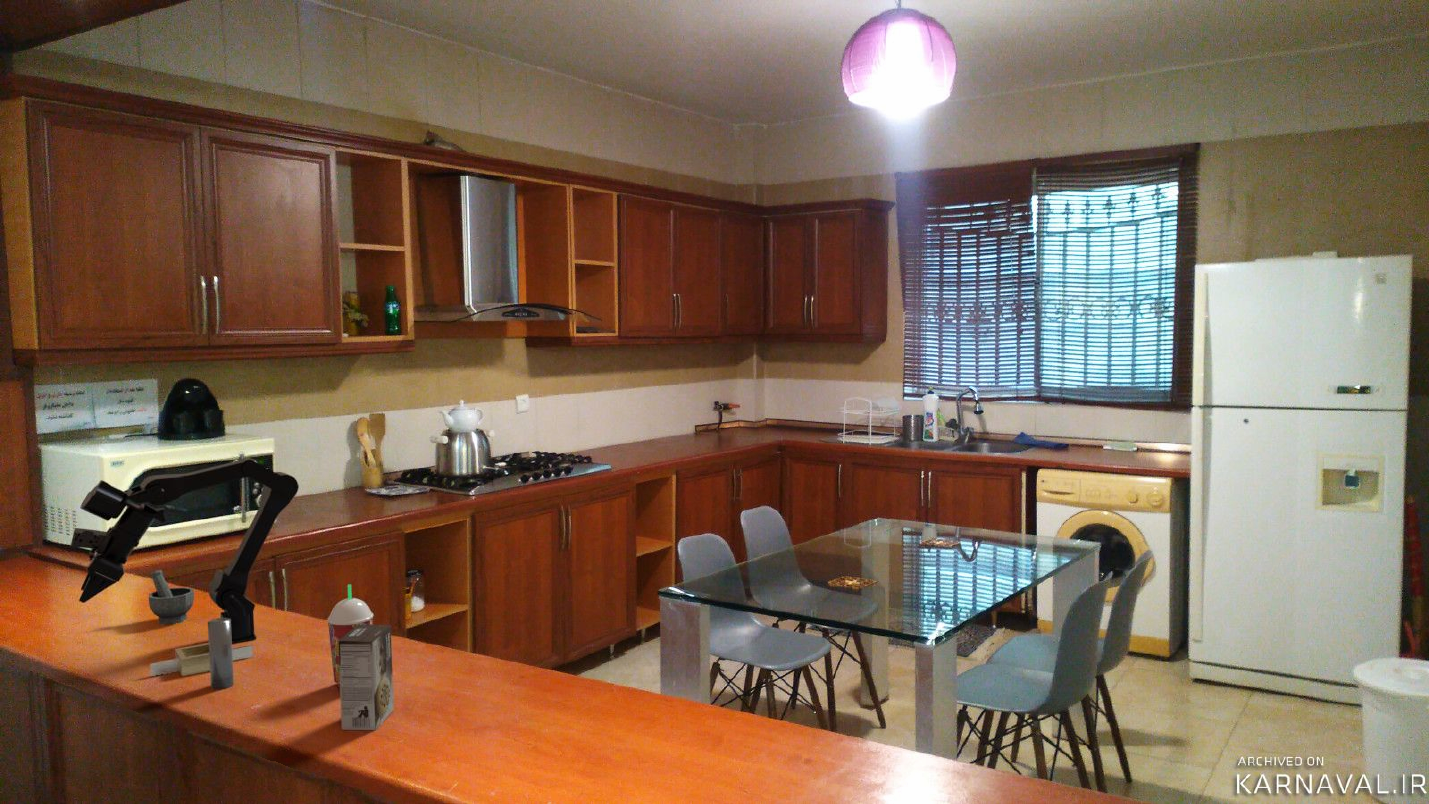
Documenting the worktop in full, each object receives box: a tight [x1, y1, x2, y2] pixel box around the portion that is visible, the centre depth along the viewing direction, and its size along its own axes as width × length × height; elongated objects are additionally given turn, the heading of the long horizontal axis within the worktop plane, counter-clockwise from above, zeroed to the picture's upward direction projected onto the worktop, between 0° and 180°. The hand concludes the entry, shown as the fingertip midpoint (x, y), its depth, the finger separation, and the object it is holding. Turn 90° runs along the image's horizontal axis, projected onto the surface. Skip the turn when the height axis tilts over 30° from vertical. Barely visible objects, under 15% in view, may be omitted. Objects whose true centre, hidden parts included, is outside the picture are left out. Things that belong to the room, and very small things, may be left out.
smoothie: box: [327, 584, 374, 689], centre depth 190 cm, size 8×8×20 cm
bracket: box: [149, 642, 254, 677], centre depth 202 cm, size 19×8×4 cm, turn 127°
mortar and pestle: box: [148, 569, 195, 626], centre depth 233 cm, size 11×9×12 cm
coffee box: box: [338, 624, 395, 731], centre depth 173 cm, size 9×6×16 cm
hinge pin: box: [207, 617, 235, 690], centre depth 191 cm, size 4×4×13 cm
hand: (82, 596), depth 202 cm, fingers open, 9 cm apart
